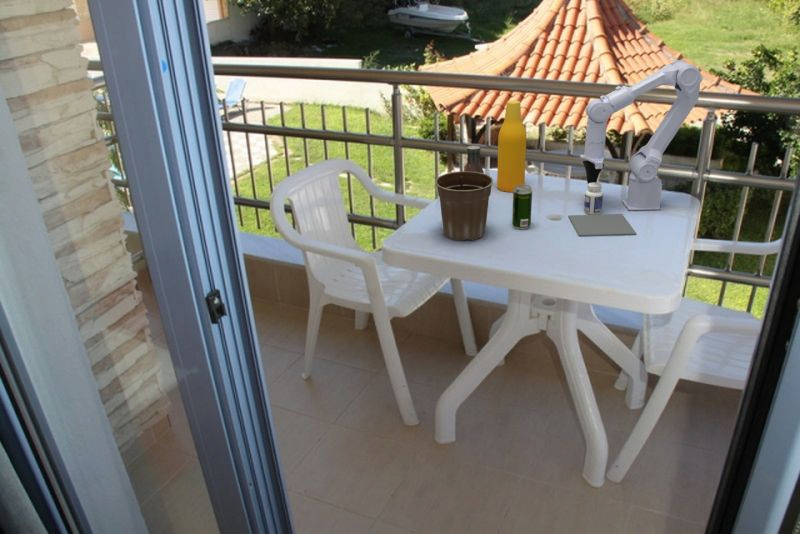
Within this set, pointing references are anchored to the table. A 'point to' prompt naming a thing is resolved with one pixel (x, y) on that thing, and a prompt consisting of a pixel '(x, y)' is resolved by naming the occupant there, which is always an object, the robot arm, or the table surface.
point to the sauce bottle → (473, 160)
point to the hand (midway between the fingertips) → (591, 184)
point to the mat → (601, 225)
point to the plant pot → (464, 203)
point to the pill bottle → (593, 199)
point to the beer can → (522, 207)
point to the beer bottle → (511, 149)
